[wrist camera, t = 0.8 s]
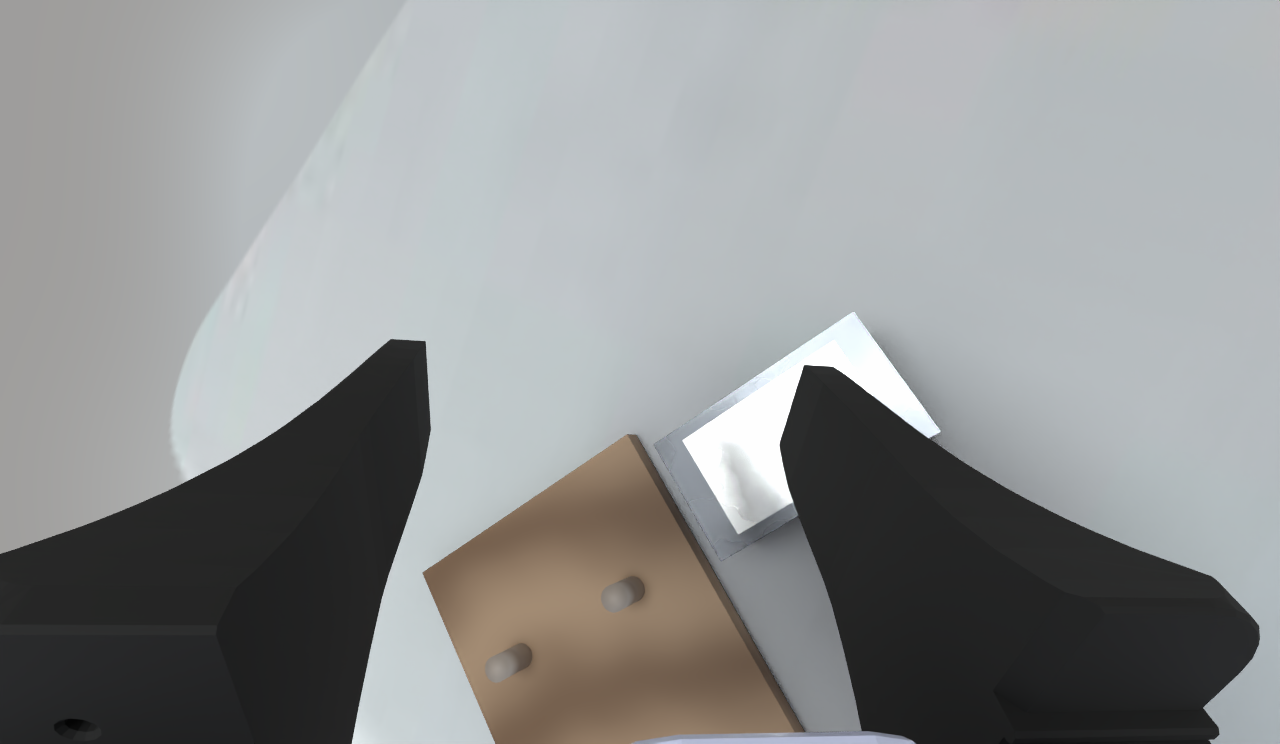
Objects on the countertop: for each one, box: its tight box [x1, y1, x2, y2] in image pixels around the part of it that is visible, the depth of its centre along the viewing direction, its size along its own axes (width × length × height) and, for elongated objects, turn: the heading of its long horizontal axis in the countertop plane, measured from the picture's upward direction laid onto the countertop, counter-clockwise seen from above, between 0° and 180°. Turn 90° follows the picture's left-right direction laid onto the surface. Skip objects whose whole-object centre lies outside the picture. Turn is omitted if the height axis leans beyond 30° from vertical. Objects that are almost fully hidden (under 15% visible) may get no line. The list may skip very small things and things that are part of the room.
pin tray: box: [423, 434, 804, 744], centre depth 26 cm, size 18×12×3 cm, turn 31°
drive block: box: [654, 311, 941, 561], centre depth 24 cm, size 4×8×5 cm, turn 122°
